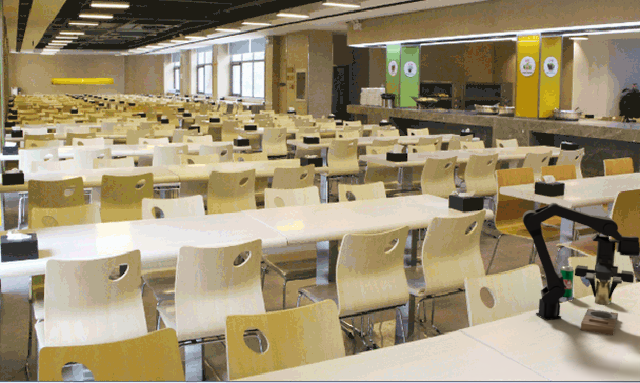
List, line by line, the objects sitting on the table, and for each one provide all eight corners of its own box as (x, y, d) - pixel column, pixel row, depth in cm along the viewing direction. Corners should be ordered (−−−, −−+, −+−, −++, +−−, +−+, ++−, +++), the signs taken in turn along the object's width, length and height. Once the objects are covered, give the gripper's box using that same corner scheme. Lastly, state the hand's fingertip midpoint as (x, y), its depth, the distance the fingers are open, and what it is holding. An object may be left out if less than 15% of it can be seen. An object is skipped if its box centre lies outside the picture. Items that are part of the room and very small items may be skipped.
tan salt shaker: (600, 305, 223) (602, 280, 222) (592, 301, 227) (594, 277, 226) (611, 304, 224) (613, 280, 223) (602, 300, 229) (604, 276, 227)
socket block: (613, 335, 213) (613, 328, 213) (580, 330, 218) (581, 322, 218) (617, 319, 229) (618, 313, 228) (587, 315, 234) (587, 308, 233)
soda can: (558, 297, 255) (560, 267, 254) (558, 293, 260) (560, 264, 258) (572, 298, 253) (574, 269, 252) (572, 295, 258) (574, 266, 256)
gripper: (574, 255, 220) (571, 299, 222) (635, 262, 212) (631, 308, 214) (577, 249, 230) (574, 291, 232) (635, 255, 222) (631, 299, 224)
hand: (602, 297), depth 226 cm, fingers closed on tan salt shaker, 4 cm apart
